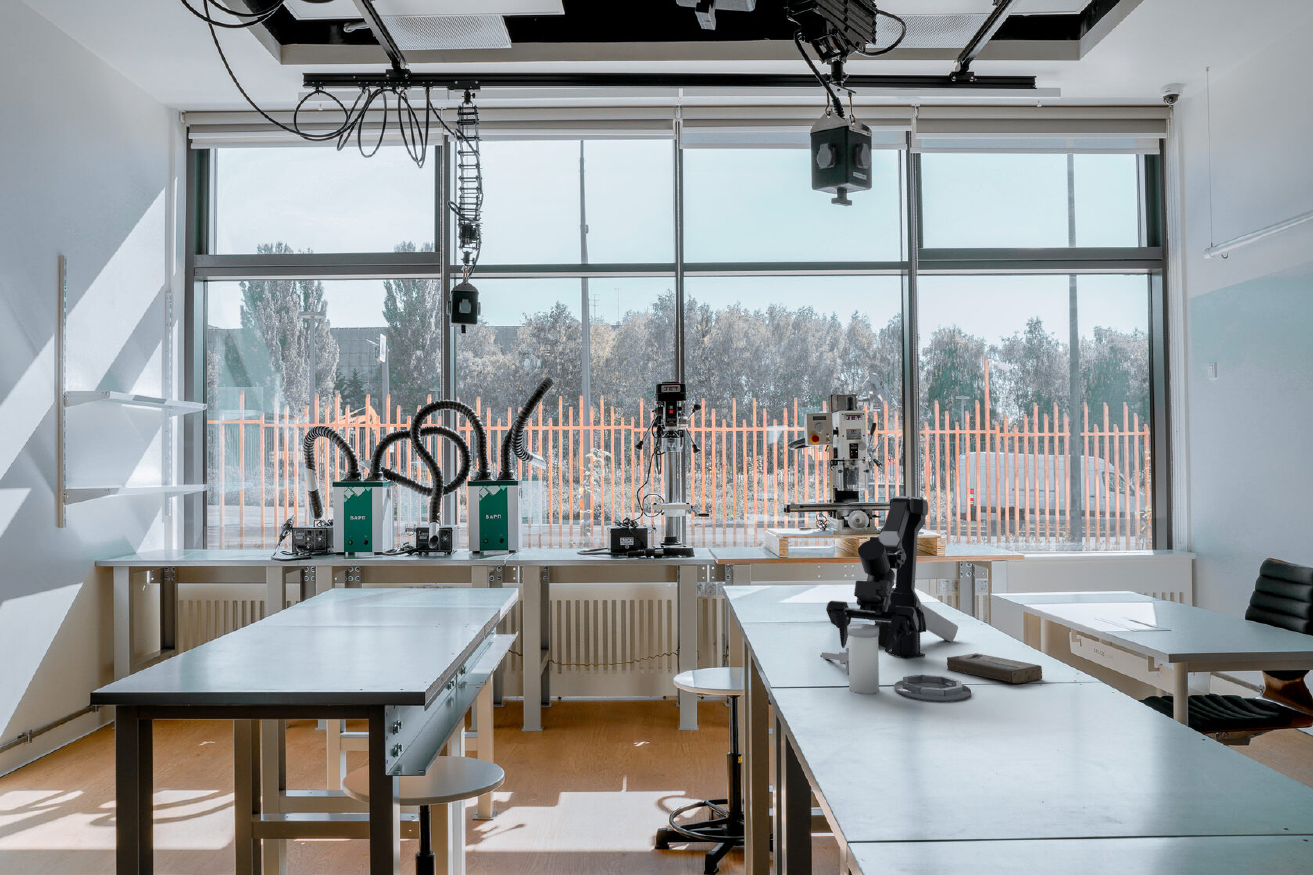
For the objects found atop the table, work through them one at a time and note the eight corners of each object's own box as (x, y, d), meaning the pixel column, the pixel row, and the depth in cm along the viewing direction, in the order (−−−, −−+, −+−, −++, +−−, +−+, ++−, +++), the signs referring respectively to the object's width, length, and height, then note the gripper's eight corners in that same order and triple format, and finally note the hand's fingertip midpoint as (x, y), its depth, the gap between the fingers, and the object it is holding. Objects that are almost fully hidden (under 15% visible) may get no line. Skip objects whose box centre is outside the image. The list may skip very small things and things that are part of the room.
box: (1012, 685, 174) (1011, 670, 174) (945, 670, 188) (945, 656, 189) (1044, 680, 179) (1043, 665, 179) (977, 665, 194) (976, 652, 194)
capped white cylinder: (865, 684, 176) (864, 622, 177) (886, 691, 171) (885, 627, 171) (841, 688, 174) (841, 625, 174) (862, 695, 168) (861, 630, 168)
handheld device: (865, 637, 214) (889, 585, 217) (929, 674, 219) (952, 623, 222) (873, 640, 210) (897, 587, 213) (939, 678, 216) (962, 625, 218)
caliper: (855, 677, 183) (855, 649, 183) (850, 678, 183) (850, 649, 183) (824, 656, 203) (823, 631, 203) (819, 657, 203) (819, 631, 203)
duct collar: (931, 679, 180) (931, 669, 180) (987, 695, 167) (987, 685, 167) (878, 688, 173) (878, 678, 173) (932, 706, 160) (932, 695, 160)
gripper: (828, 563, 183) (811, 622, 173) (914, 568, 173) (901, 630, 163) (840, 595, 189) (824, 653, 179) (923, 601, 180) (912, 663, 170)
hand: (864, 649), depth 173 cm, fingers open, 9 cm apart
